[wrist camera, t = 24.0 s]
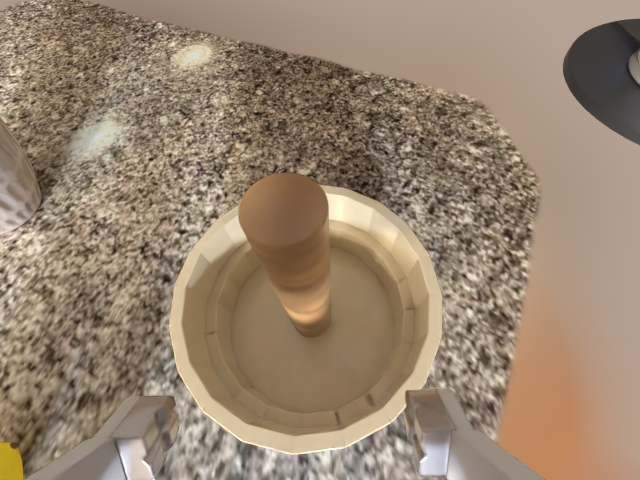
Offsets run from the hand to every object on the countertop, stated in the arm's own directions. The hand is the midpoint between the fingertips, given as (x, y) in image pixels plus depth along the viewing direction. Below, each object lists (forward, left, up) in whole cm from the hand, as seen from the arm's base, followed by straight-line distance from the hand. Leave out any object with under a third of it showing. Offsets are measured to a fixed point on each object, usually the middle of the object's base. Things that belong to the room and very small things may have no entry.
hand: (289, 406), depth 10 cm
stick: (-1, -5, -10) cm, 11 cm away
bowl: (-1, -5, -10) cm, 12 cm away
